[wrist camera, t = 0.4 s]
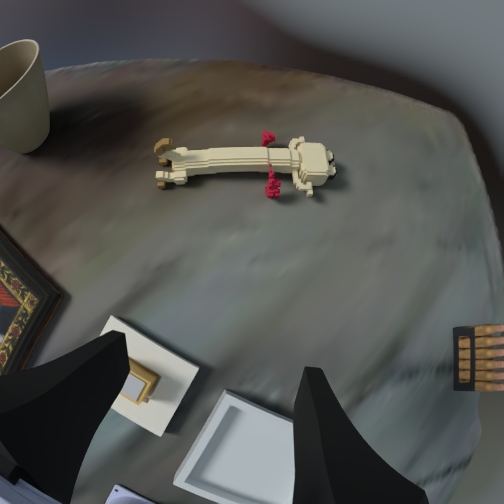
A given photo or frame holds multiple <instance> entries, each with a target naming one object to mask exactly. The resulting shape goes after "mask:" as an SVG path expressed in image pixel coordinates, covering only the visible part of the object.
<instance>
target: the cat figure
mask: <svg viewBox="0 0 504 504" xmlns="http://www.w3.org/2000/svg"><path fill="white" fill-rule="evenodd" d="M273 141H275V135H273V133H268V132H267V131H266V130H264V133H263V135H262V147H232V148H209V150H192V151H188V150H187V148H185V147H182V148H176V150H171V149H173V141H172V139H169V138H163V139H162V140H160V142H158V143H156V146H155V147H154V154H155V156H158V157H159V159H160V160H159V163H160V166H164V165H167V163H168V160H171V161H172V169H173V173H168V172H163V171H157V172H156V179H157V181H158V185H157V186H158V188H159V189H163V188H165V186H166V181H167V182H174V183H176V185H178V184H185V182H187V176H194V175H195V174H216V172H243V171H259V172H269V180H268V186H267V187H265V189H266V195H267V197H268V198H273V196H275V197H280V189H278V187H280V183H281V181H280V180H278V179H275V180H274V172H281V173H292V175H293V183H294V185H296V189H299V191H306V194H307V197H311V196H312V195H313V191H312V186H320V185H323V184H324V183H325V181H326V180H327V179H333V178H334V177H335V176H337V169H336V168H335V167H334V166H333V165H335V163H333V162H332V161H334V155H333V154H332V153H331V152H330V151H329V150H326V148H325V147H324V146H323V145H322V144H321V143H305V141H304V137H300V138H299V139H292V140H291V141H290V144H289V149H288V148H266V146H267V145H269V142H273ZM297 144H299V146H298V148H297V150H294V149H296V146H297Z"/></svg>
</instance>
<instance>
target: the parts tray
mask: <svg viewBox="0 0 504 504" xmlns="http://www.w3.org/2000/svg"><path fill="white" fill-rule="evenodd" d="M294 478H295V466H294V440H293V420H292V419H289V418H287V417H285V416H282V415H280V414H278V413H275V412H273V411H271V410H268V409H266V408H264V407H262V406H259V405H257V404H255V403H253V402H251V401H249V400H246V399H244V398H242V397H240V396H238V395H236V394H234V393H232V392H230V391H228V390H226V389H224V391H223V393H222V395H221V397H220V398H219V400H218V402H217V404H216V405H215V407H214V409H213V411H212V412H211V414H210V416H209V418H208V419H207V421H206V423H205V425H204V426H203V428H202V430H201V431H200V433H199V435H198V437H197V438H196V440H195V442H194V443H193V445H192V447H191V449H190V450H189V452H188V454H187V455H186V457H185V459H184V460H183V462H182V464H181V465H180V467H179V469H178V470H177V472H176V473H175V477H174V482H173V484H174V485H176V486H178V487H180V488H183V489H185V490H187V491H190V492H192V493H194V494H197V495H199V496H202V497H204V498H207V499H210V500H212V501H215V502H218V503H220V504H292V500H293V490H294Z"/></svg>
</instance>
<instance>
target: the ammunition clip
mask: <svg viewBox="0 0 504 504" xmlns="http://www.w3.org/2000/svg"><path fill="white" fill-rule="evenodd" d="M503 331H504V324H498V325H491V324H487V325H479V326H465V327H456V328H453V342H454V390H457V391H487V392H488V391H503V390H504V384H502V383H495V382H491V381H490V380H501V379H504V372H497V371H492V370H490V369H495V368H504V361H502V360H492V359H486V358H493V357H500V356H504V349H494V348H482V347H490V346H494V345H500V344H504V337H492V336H485V335H491V334H494V333H499V332H503ZM475 336H476V337H475ZM481 336H485V337H481ZM465 337H469V338H465ZM465 348H470V349H465ZM468 369H470V370H468ZM481 380H483V381H481Z"/></svg>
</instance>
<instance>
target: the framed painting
mask: <svg viewBox="0 0 504 504" xmlns="http://www.w3.org/2000/svg"><path fill="white" fill-rule="evenodd" d="M62 298H63V294H62V293H61V291H60V290H59V289H58V288H56V287H55V286H54V285H53V284H52V283H51V282H50V281H49V280H48V279H47V278H46V277H45V276H44V275H43V274H42V273H41V272H39V271H38V270H37V269H36V268H35V267H34V266H33V265H32V264H31V263H30V262H29V261H28V260H27V259H26V258H25V257H24V256H23V254H22V253H21V252H20V251H19V250H18V249H17V248H16V247H15V246H14V245H13V244H12V242H11V241H10V240H9V239H8V238H7V237H6V236H5V235H4V234H3V232H2V231H1V230H0V376H2V375H7V374H12V373H16V372H20V371H23V369H24V367H25V365H26V363H27V361H28V359H29V357H30V355H31V353H32V351H33V349H34V347H35V345H36V343H37V341H38V339H39V338H40V336H41V334H42V333H43V331H44V330H45V328H46V326H47V325H48V323H49V321H50V320H51V318H52V316H53V314H54V312H55V311H56V309H57V307H58V305H59V304H60V302H61V300H62Z"/></svg>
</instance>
